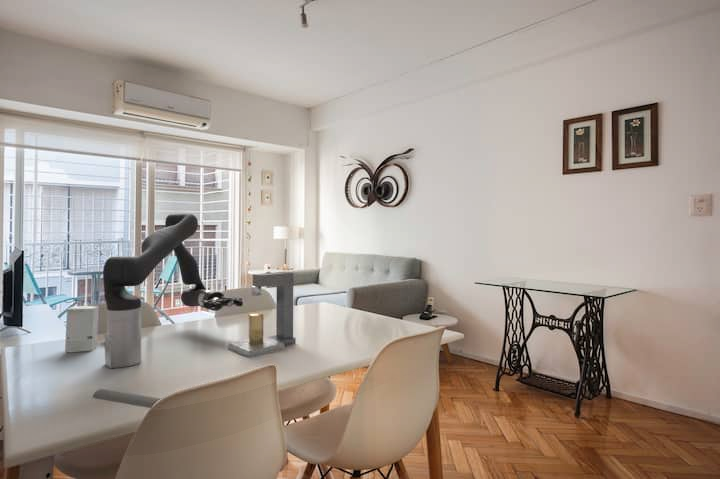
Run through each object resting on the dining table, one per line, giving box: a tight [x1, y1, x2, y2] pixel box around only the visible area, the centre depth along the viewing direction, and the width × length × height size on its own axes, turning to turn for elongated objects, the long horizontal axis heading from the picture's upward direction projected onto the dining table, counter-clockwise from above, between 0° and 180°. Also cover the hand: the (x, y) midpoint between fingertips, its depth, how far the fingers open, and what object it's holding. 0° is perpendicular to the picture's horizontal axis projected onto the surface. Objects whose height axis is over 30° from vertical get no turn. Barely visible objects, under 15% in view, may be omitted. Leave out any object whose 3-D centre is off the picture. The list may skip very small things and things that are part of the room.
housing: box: [248, 312, 264, 345], centre depth 146 cm, size 5×5×10 cm
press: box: [227, 271, 297, 358], centre depth 150 cm, size 21×20×26 cm
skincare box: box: [64, 305, 99, 353], centre depth 143 cm, size 8×6×15 cm
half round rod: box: [92, 388, 161, 409], centre depth 102 cm, size 4×20×2 cm, turn 72°
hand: (230, 304), depth 153 cm, fingers open, 8 cm apart
